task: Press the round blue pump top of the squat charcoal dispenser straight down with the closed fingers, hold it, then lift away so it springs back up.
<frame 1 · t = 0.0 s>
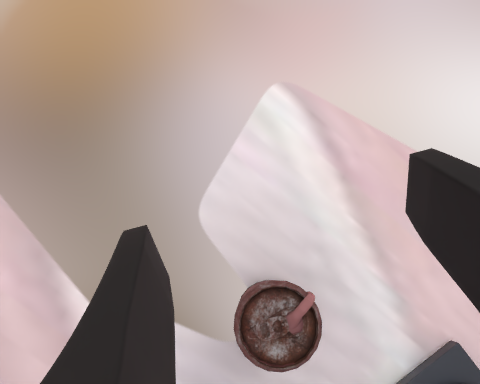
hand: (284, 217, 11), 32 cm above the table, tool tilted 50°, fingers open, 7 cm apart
can: (269, 310, 42), on the table
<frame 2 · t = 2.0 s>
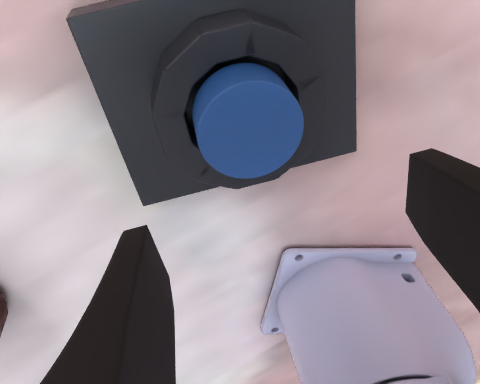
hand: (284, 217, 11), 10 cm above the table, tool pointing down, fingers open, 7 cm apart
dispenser: (229, 83, 19), on the table
pump top: (246, 121, 16), point 4 cm above the table, slide at 0.1 cm
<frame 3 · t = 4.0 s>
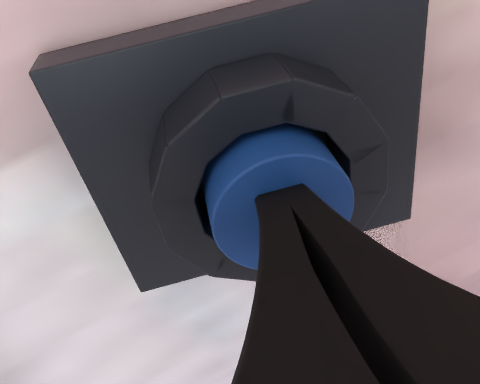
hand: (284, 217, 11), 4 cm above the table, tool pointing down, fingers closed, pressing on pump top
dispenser: (250, 139, 15), on the table
pump top: (275, 197, 12), point 4 cm above the table, slide at -0.5 cm, touching gripper
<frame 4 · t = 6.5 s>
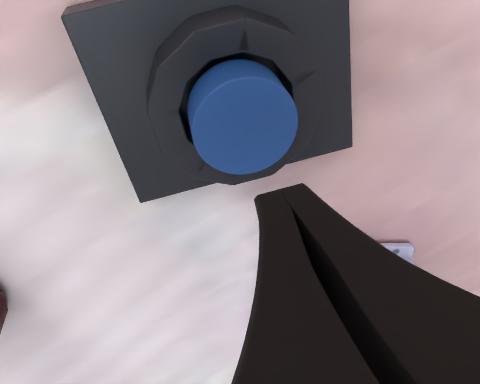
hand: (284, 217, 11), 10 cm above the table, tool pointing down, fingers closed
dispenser: (224, 79, 20), on the table
pump top: (241, 118, 16), point 4 cm above the table, slide at 0.1 cm
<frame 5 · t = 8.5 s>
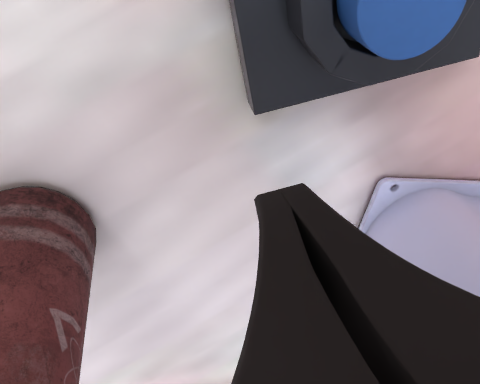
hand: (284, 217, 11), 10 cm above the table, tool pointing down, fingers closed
can: (35, 224, 23), on the table
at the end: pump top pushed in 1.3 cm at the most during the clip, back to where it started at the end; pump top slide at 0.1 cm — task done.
